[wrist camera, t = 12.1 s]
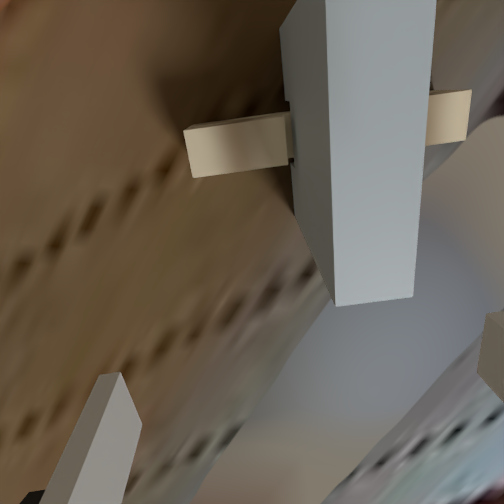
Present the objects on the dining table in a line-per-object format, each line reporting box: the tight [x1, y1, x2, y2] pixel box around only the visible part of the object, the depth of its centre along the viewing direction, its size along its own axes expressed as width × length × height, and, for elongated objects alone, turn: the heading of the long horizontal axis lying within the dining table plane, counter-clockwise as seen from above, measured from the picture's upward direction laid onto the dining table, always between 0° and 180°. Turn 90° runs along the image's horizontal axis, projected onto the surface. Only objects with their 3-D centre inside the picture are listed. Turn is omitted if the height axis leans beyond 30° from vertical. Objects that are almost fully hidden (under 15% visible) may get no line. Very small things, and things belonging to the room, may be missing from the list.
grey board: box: [279, 0, 436, 307], centre depth 27 cm, size 18×5×18 cm, turn 7°
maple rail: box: [183, 90, 472, 178], centre depth 32 cm, size 24×4×6 cm, turn 97°
